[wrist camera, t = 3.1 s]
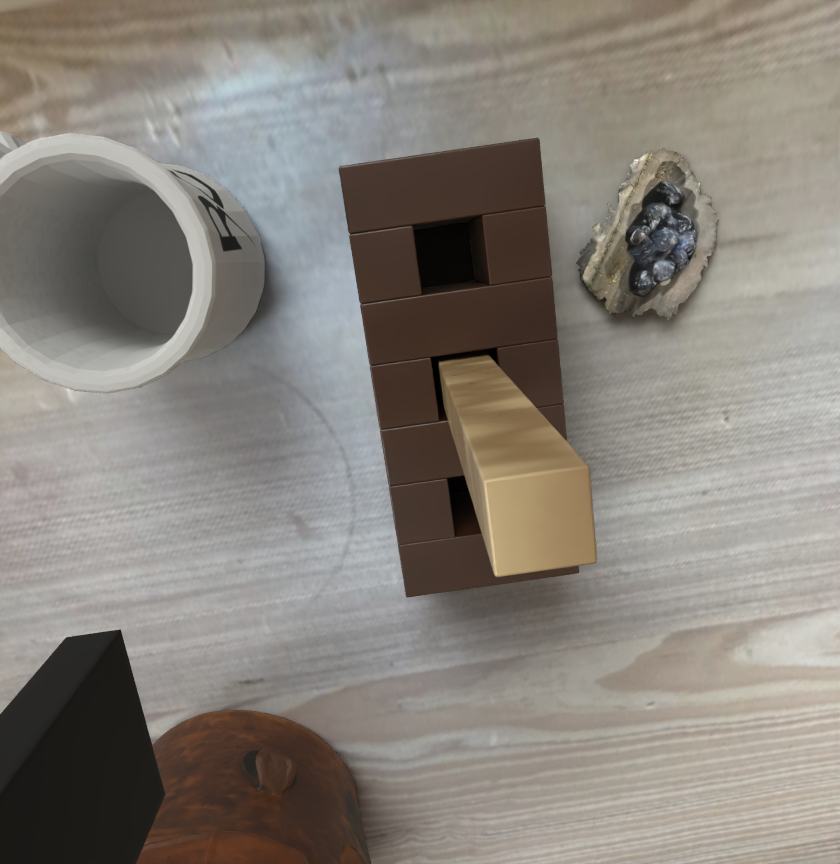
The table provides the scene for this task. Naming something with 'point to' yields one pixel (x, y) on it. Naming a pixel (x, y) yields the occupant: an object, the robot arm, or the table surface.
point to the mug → (117, 263)
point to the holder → (450, 332)
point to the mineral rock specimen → (651, 239)
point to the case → (252, 795)
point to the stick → (516, 470)
